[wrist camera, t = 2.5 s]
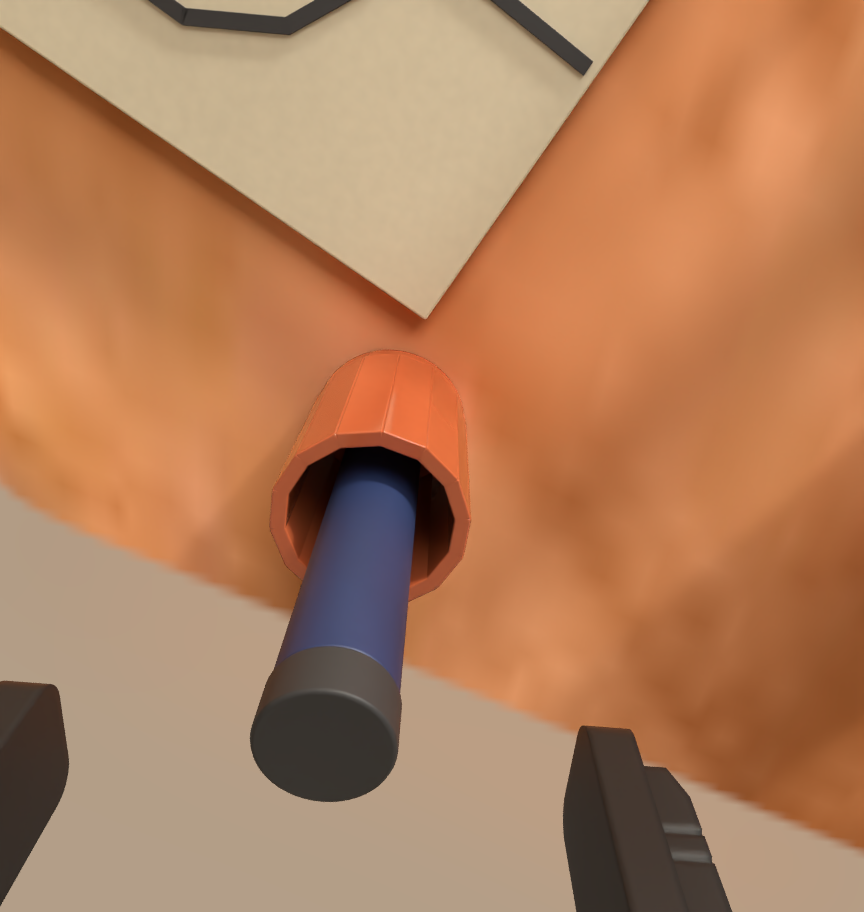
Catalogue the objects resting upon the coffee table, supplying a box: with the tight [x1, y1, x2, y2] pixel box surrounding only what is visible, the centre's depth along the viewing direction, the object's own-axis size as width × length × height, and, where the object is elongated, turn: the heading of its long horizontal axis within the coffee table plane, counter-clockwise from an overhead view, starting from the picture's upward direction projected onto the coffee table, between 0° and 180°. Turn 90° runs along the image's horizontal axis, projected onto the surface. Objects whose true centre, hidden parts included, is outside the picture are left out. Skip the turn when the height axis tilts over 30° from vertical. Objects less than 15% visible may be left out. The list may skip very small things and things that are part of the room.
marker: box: [250, 446, 421, 802], centre depth 18 cm, size 2×2×14 cm
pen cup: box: [269, 350, 471, 602], centre depth 21 cm, size 5×5×7 cm
